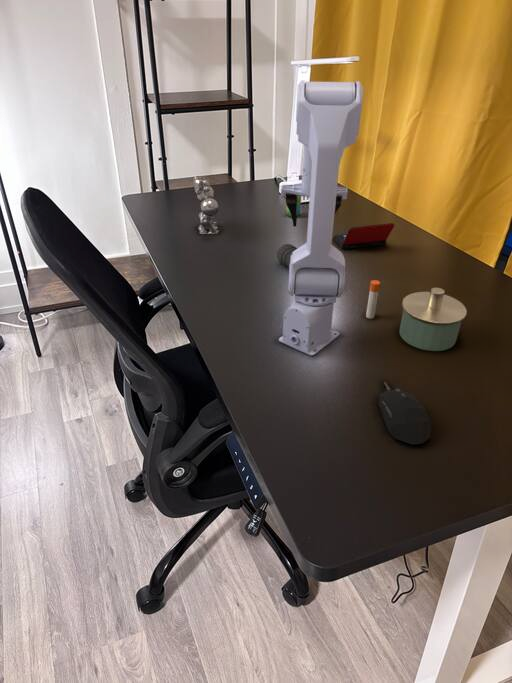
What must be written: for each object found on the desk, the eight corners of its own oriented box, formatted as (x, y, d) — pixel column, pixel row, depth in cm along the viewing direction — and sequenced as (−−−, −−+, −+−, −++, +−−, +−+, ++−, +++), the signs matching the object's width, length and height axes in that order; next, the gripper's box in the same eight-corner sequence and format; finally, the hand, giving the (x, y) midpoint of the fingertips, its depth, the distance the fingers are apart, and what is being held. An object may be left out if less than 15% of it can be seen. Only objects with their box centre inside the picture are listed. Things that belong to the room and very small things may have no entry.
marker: (371, 320, 102) (377, 285, 98) (363, 316, 103) (368, 282, 99) (376, 316, 104) (381, 281, 99) (368, 313, 105) (373, 279, 100)
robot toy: (223, 241, 135) (221, 186, 127) (200, 243, 134) (197, 187, 126) (215, 221, 147) (213, 169, 139) (194, 223, 146) (191, 171, 137)
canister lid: (450, 335, 88) (456, 313, 86) (390, 313, 94) (394, 292, 92) (474, 309, 95) (480, 288, 93) (417, 290, 102) (421, 270, 99)
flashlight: (274, 264, 124) (274, 243, 121) (293, 260, 126) (294, 239, 123) (305, 290, 112) (306, 268, 109) (326, 286, 114) (328, 264, 111)
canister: (442, 358, 92) (449, 330, 88) (389, 337, 97) (394, 310, 94) (464, 333, 98) (471, 307, 95) (413, 315, 104) (419, 289, 101)
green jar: (282, 213, 152) (283, 187, 148) (295, 211, 154) (296, 185, 150) (289, 218, 149) (290, 191, 145) (303, 216, 151) (304, 189, 146)
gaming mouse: (402, 382, 86) (406, 363, 84) (437, 445, 74) (442, 426, 71) (366, 384, 85) (369, 366, 83) (395, 449, 73) (399, 429, 71)
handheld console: (373, 234, 139) (377, 208, 135) (391, 250, 131) (396, 223, 127) (331, 239, 137) (333, 212, 133) (346, 255, 128) (349, 227, 124)
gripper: (349, 162, 110) (342, 217, 119) (283, 159, 111) (281, 214, 121) (350, 176, 105) (342, 233, 114) (281, 173, 106) (279, 230, 115)
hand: (311, 225), depth 117 cm, fingers open, 7 cm apart
